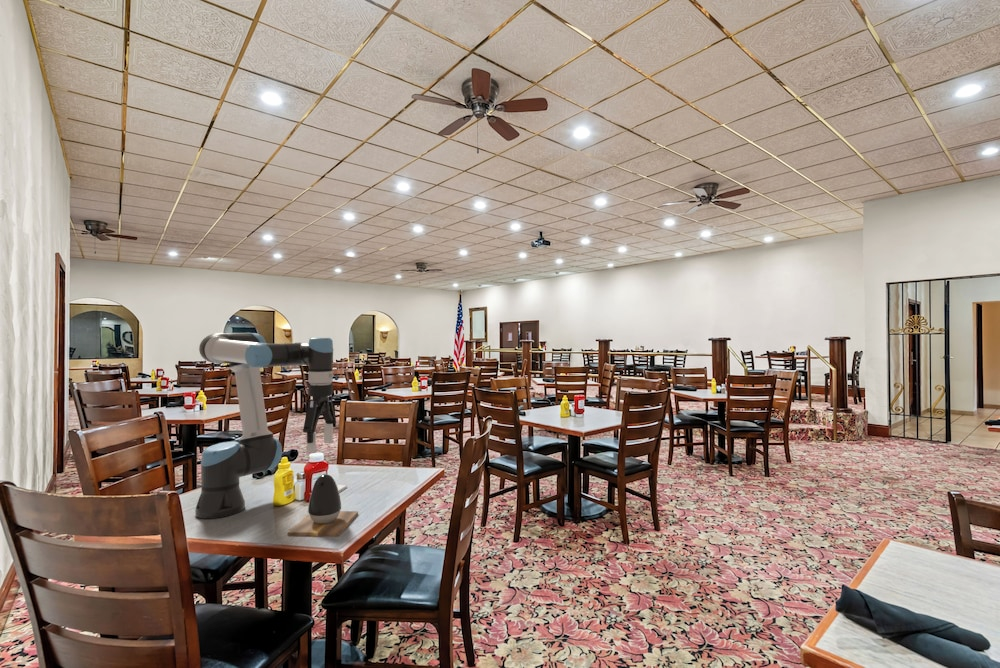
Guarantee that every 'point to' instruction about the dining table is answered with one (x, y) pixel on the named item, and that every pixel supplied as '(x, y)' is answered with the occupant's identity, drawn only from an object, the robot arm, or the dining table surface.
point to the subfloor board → (323, 525)
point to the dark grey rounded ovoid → (324, 500)
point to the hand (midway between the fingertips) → (320, 447)
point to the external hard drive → (341, 487)
